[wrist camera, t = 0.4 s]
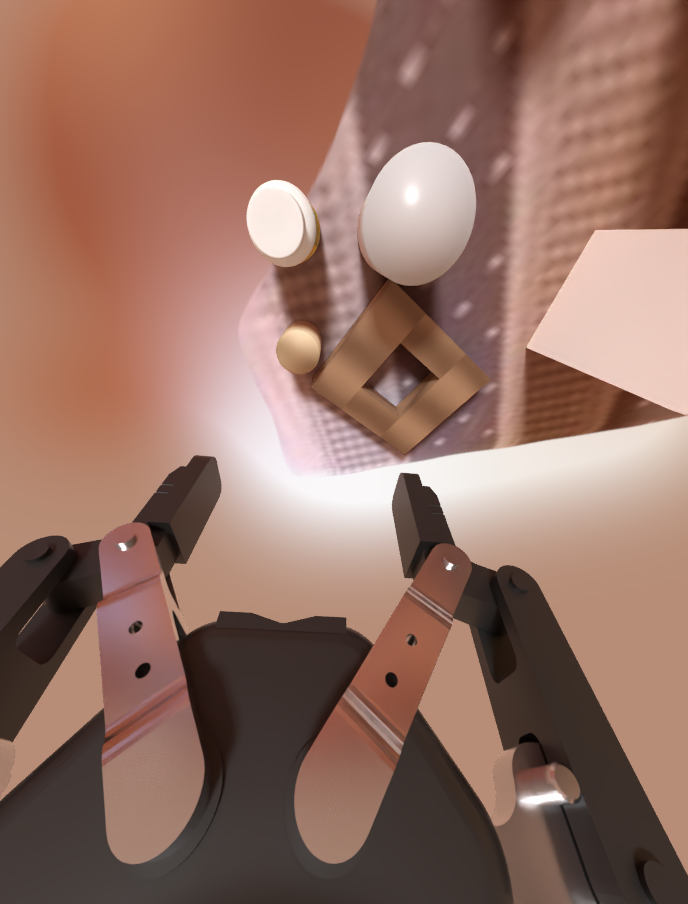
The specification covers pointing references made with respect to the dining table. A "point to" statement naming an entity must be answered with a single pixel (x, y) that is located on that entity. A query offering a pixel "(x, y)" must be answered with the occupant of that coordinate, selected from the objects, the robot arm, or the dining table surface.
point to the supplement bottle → (282, 224)
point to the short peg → (299, 347)
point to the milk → (625, 314)
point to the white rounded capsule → (418, 214)
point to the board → (371, 345)
